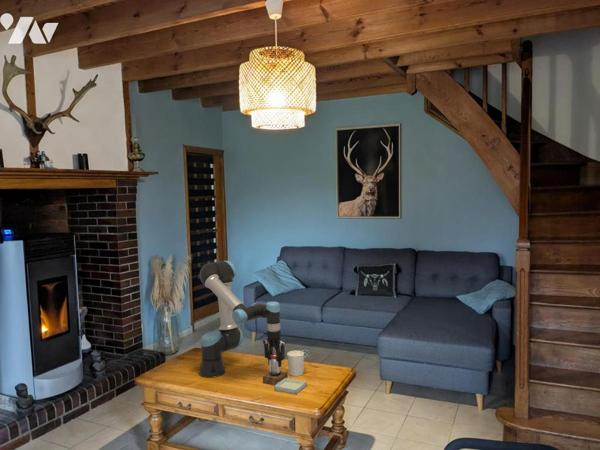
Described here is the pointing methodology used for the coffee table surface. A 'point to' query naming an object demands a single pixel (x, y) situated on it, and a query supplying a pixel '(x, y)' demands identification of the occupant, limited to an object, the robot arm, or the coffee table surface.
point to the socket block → (274, 378)
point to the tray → (290, 386)
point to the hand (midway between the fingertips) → (275, 371)
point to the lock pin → (274, 364)
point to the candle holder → (295, 362)
